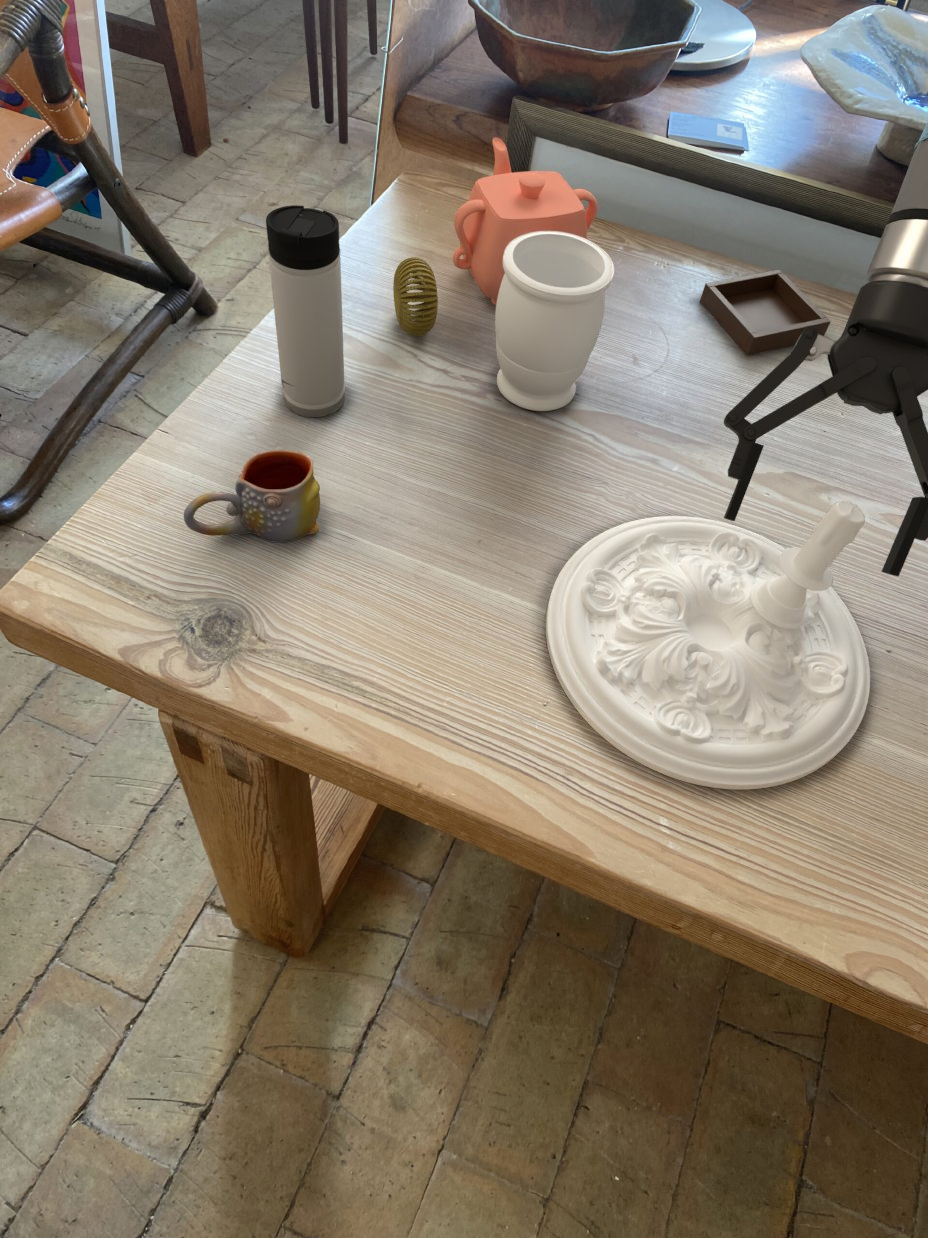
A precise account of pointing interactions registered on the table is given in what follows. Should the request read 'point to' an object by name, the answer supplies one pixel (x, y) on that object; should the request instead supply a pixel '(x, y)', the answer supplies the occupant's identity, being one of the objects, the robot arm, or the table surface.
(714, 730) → the ceiling medallion
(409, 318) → the sculpture
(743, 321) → the tray
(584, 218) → the teapot
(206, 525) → the mug
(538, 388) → the jar
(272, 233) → the travel mug
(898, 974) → the table surface
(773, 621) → the candle
